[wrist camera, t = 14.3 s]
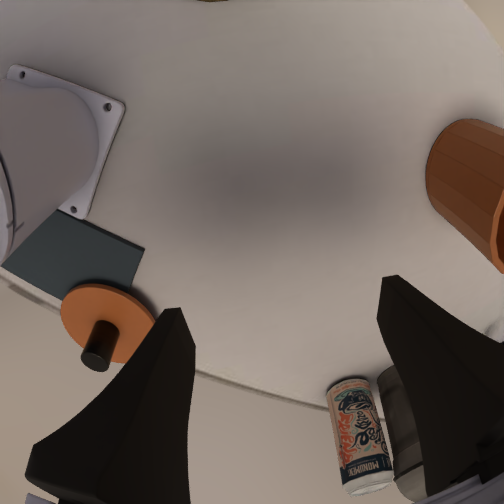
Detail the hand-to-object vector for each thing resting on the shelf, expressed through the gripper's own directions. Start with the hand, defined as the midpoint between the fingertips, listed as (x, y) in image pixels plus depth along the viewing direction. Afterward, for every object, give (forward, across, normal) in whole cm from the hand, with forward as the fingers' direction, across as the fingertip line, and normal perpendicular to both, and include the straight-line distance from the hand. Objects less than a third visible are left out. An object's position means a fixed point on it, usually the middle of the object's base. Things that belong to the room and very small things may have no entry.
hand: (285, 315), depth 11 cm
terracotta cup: (+9, -15, -1) cm, 18 cm away
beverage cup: (+10, -12, +21) cm, 26 cm away
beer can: (+10, -6, +21) cm, 24 cm away
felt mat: (+9, +17, 0) cm, 19 cm away
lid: (+8, +13, +7) cm, 17 cm away
